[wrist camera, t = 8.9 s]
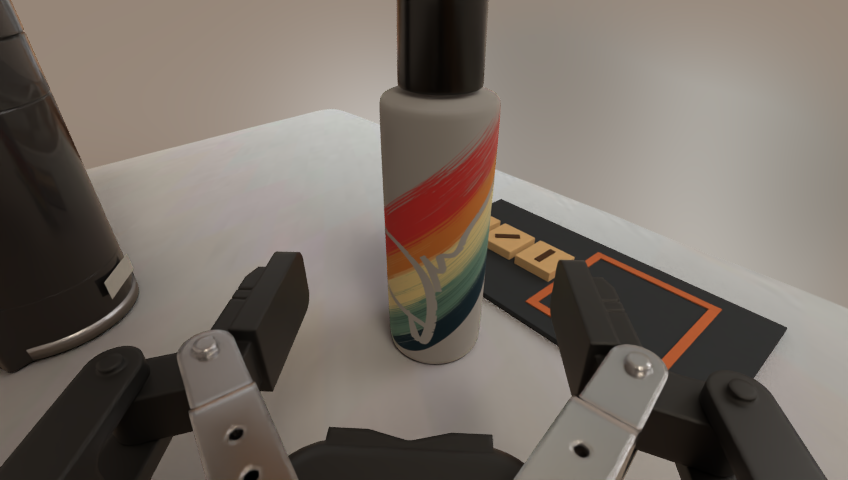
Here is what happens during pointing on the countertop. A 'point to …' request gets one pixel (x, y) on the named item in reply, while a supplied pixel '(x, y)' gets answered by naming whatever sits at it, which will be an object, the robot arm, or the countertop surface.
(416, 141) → the lotion bottle
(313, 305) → the countertop surface
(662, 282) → the mat
